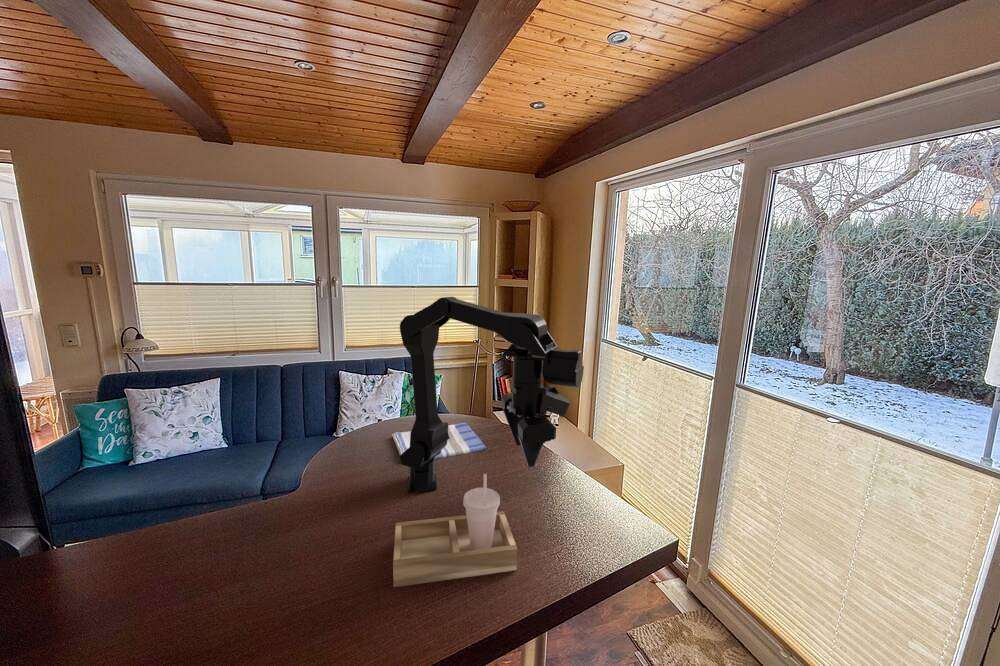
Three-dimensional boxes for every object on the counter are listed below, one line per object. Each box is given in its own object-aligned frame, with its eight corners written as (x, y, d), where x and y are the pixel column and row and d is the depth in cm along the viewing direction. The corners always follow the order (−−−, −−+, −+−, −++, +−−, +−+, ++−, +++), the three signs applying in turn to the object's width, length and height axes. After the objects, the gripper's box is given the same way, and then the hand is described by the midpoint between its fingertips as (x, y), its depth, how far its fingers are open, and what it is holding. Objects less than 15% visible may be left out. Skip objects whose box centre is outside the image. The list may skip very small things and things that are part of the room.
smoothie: (495, 562, 68) (496, 486, 65) (458, 557, 69) (458, 481, 67) (501, 537, 74) (503, 466, 72) (468, 532, 75) (468, 463, 73)
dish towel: (390, 439, 118) (390, 430, 117) (468, 428, 127) (468, 420, 126) (399, 467, 102) (399, 456, 101) (487, 452, 111) (487, 443, 110)
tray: (396, 542, 74) (395, 522, 73) (503, 530, 78) (503, 511, 77) (393, 587, 63) (393, 564, 63) (516, 570, 68) (517, 548, 67)
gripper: (586, 393, 71) (580, 475, 73) (551, 366, 89) (547, 433, 91) (524, 395, 68) (521, 480, 71) (501, 368, 86) (499, 436, 89)
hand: (524, 455), depth 81 cm, fingers open, 9 cm apart
